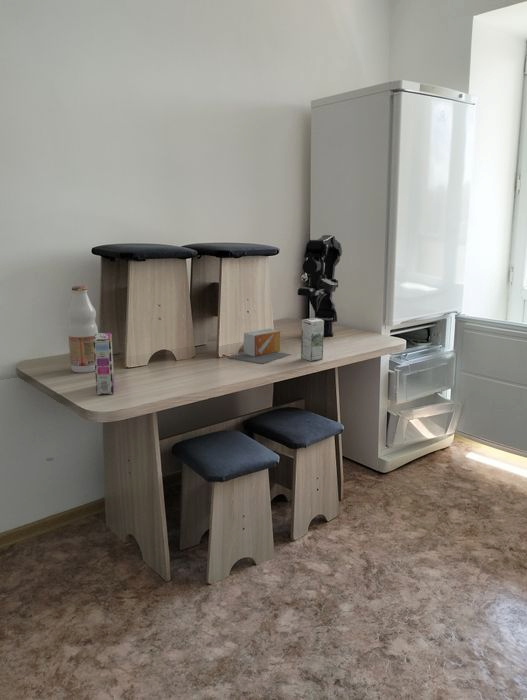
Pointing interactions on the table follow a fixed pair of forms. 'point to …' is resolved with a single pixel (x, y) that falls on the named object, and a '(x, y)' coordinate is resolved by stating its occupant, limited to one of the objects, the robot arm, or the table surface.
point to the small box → (261, 342)
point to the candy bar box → (104, 363)
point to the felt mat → (259, 357)
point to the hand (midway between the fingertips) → (315, 311)
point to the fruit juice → (81, 331)
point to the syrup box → (312, 339)
